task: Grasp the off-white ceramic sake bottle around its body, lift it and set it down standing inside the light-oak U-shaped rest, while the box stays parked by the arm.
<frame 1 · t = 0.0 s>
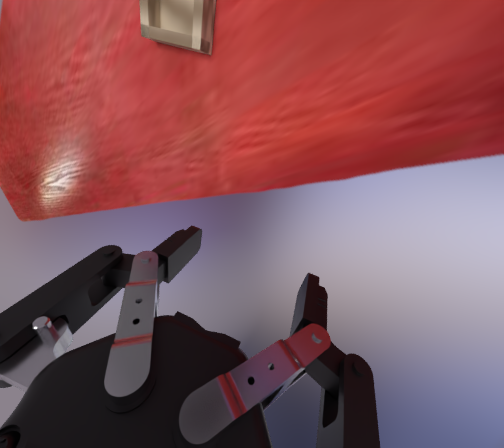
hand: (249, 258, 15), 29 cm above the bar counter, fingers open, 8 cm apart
rest: (184, 9, 33), on the bar counter
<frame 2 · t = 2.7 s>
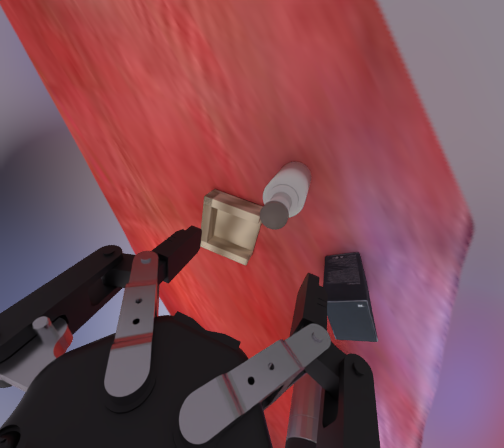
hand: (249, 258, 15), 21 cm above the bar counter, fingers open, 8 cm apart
box: (346, 270, 37), on the bar counter
rest: (234, 223, 40), on the bar counter
bottle: (294, 178, 32), on the bar counter
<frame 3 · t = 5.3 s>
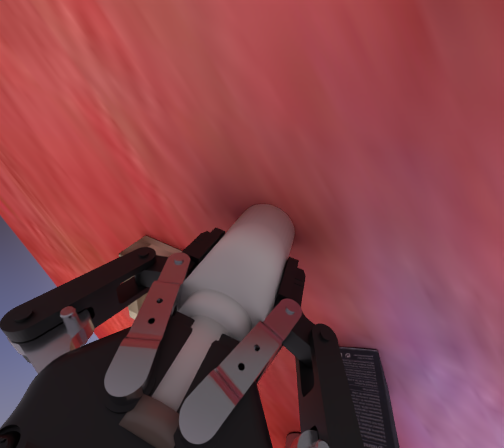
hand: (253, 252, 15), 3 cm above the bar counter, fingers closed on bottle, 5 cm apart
box: (354, 367, 23), on the bar counter
rest: (181, 284, 26), on the bar counter
bottle: (265, 230, 18), on the bar counter, touching gripper
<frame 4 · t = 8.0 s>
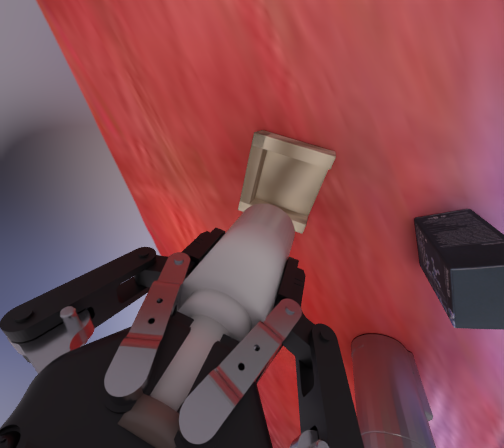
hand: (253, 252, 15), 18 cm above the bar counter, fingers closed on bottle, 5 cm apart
box: (441, 238, 27), on the bar counter
rest: (285, 179, 30), on the bar counter
bottle: (265, 230, 18), point 14 cm above the bar counter, touching gripper
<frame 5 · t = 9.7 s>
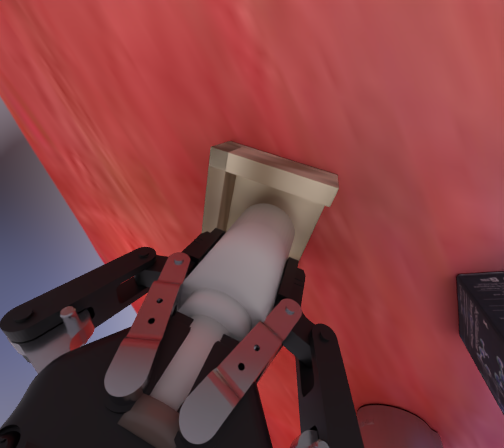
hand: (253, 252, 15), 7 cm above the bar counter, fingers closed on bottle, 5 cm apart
box: (496, 304, 18), on the bar counter
rest: (265, 210, 21), on the bar counter
bottle: (265, 230, 18), point 3 cm above the bar counter, touching gripper
when the fingers open (6 cm above the bar counter, at t = 10.9 s): bottle drops 1 cm, resting on rest.
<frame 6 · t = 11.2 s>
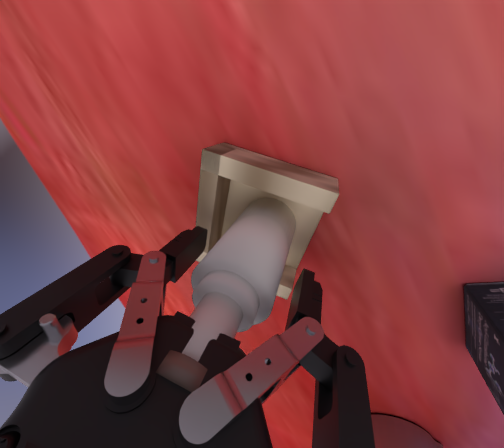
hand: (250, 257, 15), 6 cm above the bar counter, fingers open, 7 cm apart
rest: (262, 215, 20), on the bar counter
bottle: (269, 222, 19), point 1 cm above the bar counter, touching rest
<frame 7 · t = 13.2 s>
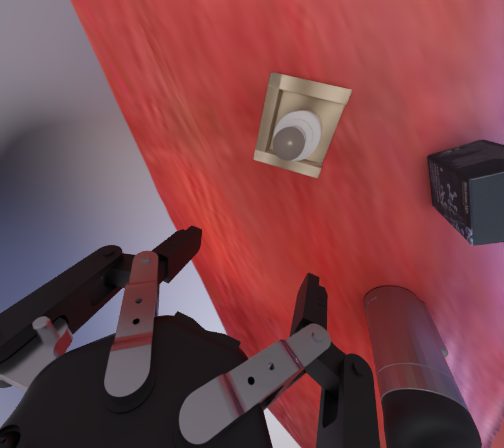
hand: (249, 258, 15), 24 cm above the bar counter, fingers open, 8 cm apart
box: (454, 175, 28), on the bar counter
rest: (299, 127, 31), on the bar counter
bottle: (304, 129, 30), point 1 cm above the bar counter, touching rest
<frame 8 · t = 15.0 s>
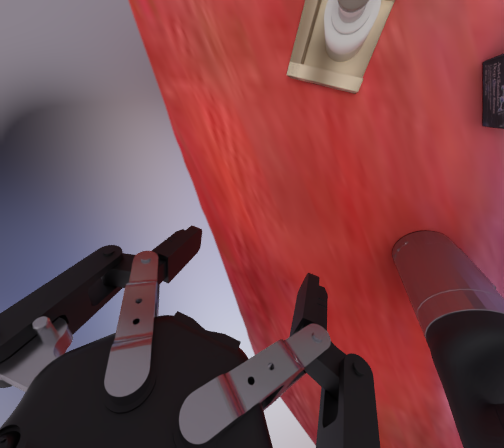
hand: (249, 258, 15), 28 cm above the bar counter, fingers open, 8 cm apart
rest: (338, 38, 28), on the bar counter
bottle: (345, 38, 27), point 1 cm above the bar counter, touching rest
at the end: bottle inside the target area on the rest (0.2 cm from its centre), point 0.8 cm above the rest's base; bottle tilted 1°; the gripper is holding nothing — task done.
